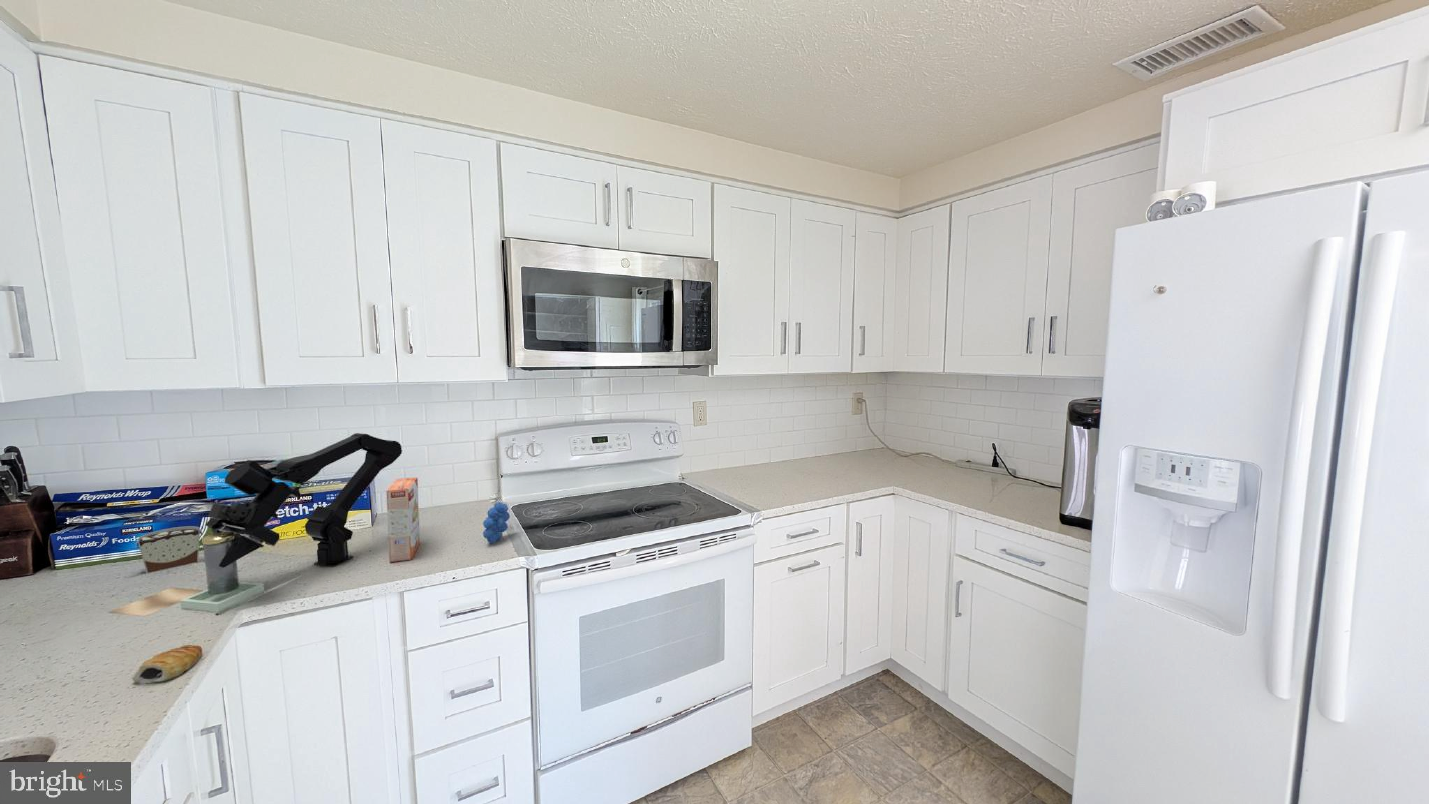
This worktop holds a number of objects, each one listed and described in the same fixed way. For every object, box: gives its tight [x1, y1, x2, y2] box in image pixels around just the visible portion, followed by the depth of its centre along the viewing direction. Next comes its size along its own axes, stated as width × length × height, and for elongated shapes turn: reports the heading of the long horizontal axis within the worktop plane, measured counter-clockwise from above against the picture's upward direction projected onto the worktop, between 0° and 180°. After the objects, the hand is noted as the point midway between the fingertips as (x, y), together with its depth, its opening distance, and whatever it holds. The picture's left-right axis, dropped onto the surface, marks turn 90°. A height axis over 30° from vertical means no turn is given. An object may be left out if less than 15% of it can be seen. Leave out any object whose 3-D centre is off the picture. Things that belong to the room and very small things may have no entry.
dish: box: [180, 581, 265, 616], centre depth 119 cm, size 10×10×2 cm
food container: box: [134, 525, 204, 574], centre depth 137 cm, size 12×6×10 cm, turn 141°
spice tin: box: [201, 532, 240, 595], centre depth 118 cm, size 5×5×13 cm
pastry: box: [132, 644, 203, 685], centre depth 94 cm, size 9×7×4 cm
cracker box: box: [386, 477, 421, 563], centre depth 147 cm, size 14×6×21 cm, turn 22°
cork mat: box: [107, 587, 206, 617], centre depth 118 cm, size 12×10×1 cm
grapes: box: [482, 501, 511, 544], centre depth 158 cm, size 12×7×12 cm, turn 168°
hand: (213, 565), depth 117 cm, fingers closed on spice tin, 5 cm apart
